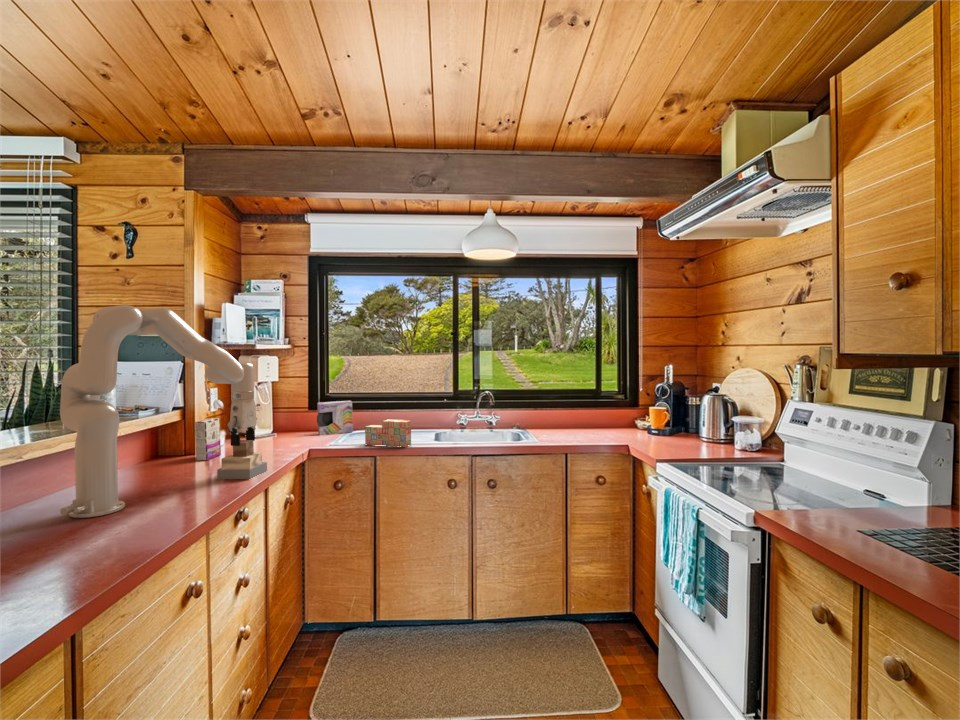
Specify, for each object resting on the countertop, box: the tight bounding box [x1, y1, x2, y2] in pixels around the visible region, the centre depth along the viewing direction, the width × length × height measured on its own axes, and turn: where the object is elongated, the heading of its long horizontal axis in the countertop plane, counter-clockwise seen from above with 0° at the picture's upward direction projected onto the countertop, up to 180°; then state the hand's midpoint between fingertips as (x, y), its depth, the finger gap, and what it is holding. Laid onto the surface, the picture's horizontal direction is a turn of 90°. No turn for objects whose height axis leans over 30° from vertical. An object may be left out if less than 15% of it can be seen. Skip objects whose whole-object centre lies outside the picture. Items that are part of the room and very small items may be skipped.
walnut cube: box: [232, 439, 255, 457], centre depth 179 cm, size 5×5×5 cm
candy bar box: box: [194, 417, 222, 461], centre depth 209 cm, size 11×5×16 cm, turn 0°
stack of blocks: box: [364, 418, 412, 448], centre depth 234 cm, size 21×6×12 cm, turn 74°
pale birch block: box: [220, 451, 263, 470], centre depth 178 cm, size 10×10×4 cm
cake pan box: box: [316, 400, 354, 436], centre depth 269 cm, size 19×5×18 cm, turn 119°
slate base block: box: [216, 461, 268, 480], centre depth 179 cm, size 12×12×4 cm
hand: (243, 443), depth 178 cm, fingers open, 9 cm apart
